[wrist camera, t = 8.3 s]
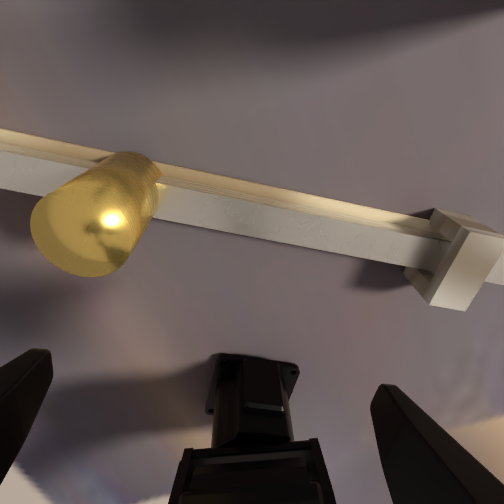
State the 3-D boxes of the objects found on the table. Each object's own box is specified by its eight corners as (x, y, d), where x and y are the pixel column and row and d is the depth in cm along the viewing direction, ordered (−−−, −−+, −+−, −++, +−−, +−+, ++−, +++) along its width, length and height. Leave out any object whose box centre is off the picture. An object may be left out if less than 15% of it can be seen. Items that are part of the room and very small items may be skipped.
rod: (496, 285, 24) (588, 360, 17) (-195, 153, 18) (-424, 193, 12) (656, 40, 17) (897, 19, 11) (-355, -285, 11) (-1058, -714, 5)
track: (612, 313, 25) (666, 347, 22) (-222, 155, 18) (-319, 171, 15) (660, 257, 23) (728, 286, 20) (-262, 55, 16) (-386, 49, 13)
